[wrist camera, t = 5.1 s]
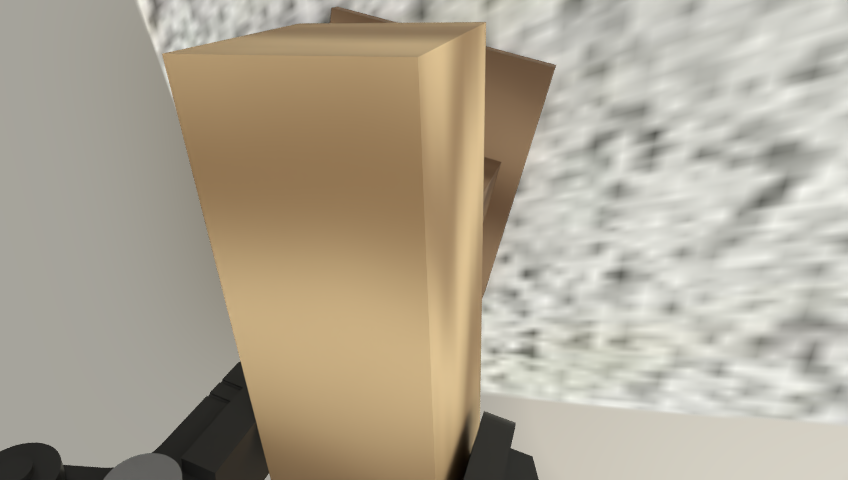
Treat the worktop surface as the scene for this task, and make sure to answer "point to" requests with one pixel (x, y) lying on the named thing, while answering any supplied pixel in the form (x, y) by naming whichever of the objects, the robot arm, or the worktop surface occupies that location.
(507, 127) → the walnut fulcrum
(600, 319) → the worktop surface
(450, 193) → the oak rod
